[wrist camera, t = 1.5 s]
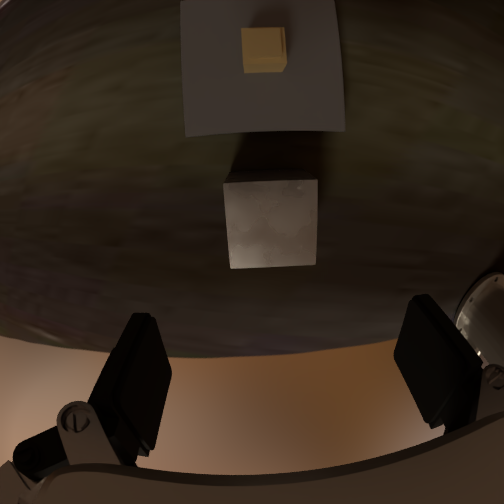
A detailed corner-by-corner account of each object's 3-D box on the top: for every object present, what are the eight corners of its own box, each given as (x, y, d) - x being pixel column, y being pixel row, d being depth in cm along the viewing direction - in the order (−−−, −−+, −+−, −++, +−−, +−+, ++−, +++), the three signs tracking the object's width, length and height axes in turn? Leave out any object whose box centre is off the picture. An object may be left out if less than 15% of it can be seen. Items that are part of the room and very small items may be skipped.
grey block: (335, 131, 24) (362, 132, 17) (193, 136, 24) (172, 138, 18) (325, 9, 19) (346, -22, 12) (187, 12, 19) (168, -18, 12)
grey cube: (303, 237, 28) (315, 264, 23) (234, 240, 28) (230, 268, 23) (303, 168, 25) (317, 179, 20) (229, 171, 26) (223, 183, 20)
